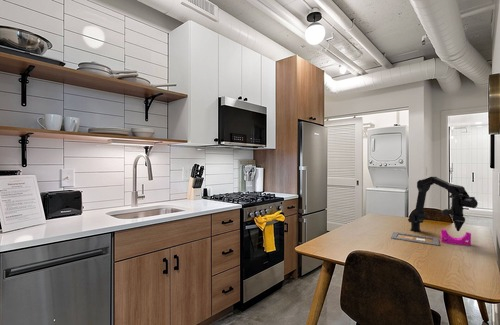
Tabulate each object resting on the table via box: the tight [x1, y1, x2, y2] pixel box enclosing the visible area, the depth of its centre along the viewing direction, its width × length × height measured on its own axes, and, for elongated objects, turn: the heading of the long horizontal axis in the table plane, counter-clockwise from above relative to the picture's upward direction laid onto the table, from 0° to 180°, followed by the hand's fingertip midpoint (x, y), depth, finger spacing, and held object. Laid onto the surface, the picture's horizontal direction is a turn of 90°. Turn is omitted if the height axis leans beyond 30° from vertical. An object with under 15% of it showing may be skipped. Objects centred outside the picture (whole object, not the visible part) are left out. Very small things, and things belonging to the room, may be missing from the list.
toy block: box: [440, 228, 472, 246], centre depth 170 cm, size 15×6×8 cm, turn 56°
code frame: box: [390, 231, 440, 247], centre depth 179 cm, size 18×27×1 cm, turn 56°
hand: (457, 229), depth 169 cm, fingers open, 9 cm apart
